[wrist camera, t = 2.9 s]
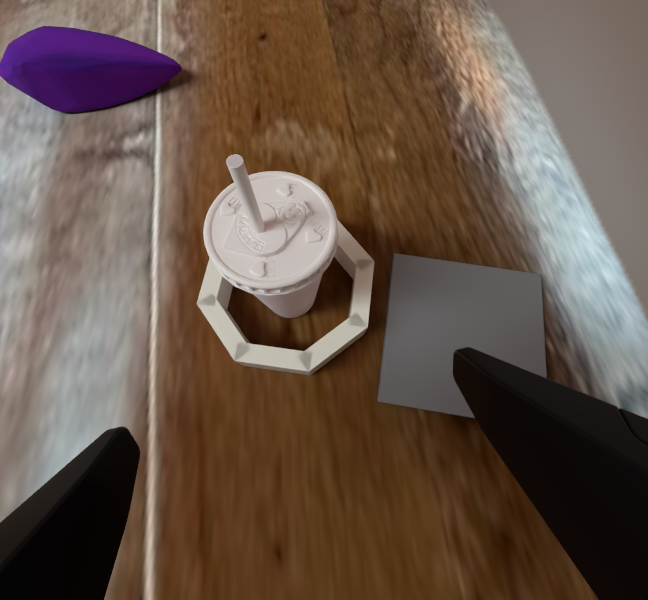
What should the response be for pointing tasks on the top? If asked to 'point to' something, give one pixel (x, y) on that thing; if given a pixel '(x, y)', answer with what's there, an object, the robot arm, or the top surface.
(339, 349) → the ring holder
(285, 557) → the top surface
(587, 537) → the robot arm
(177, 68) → the purple tapered wedge
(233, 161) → the smoothie
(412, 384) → the mat
